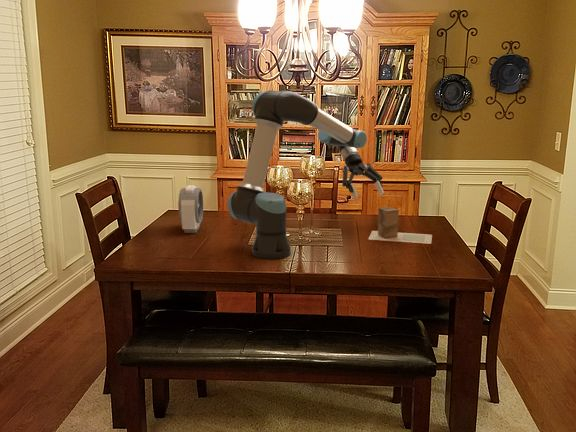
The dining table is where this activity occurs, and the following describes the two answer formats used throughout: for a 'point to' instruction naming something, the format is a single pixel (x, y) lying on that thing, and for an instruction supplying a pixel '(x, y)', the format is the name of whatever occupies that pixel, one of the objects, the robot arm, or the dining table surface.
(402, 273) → the dining table surface
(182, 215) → the alarm clock
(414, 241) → the board
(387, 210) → the walnut block
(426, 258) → the dining table surface
